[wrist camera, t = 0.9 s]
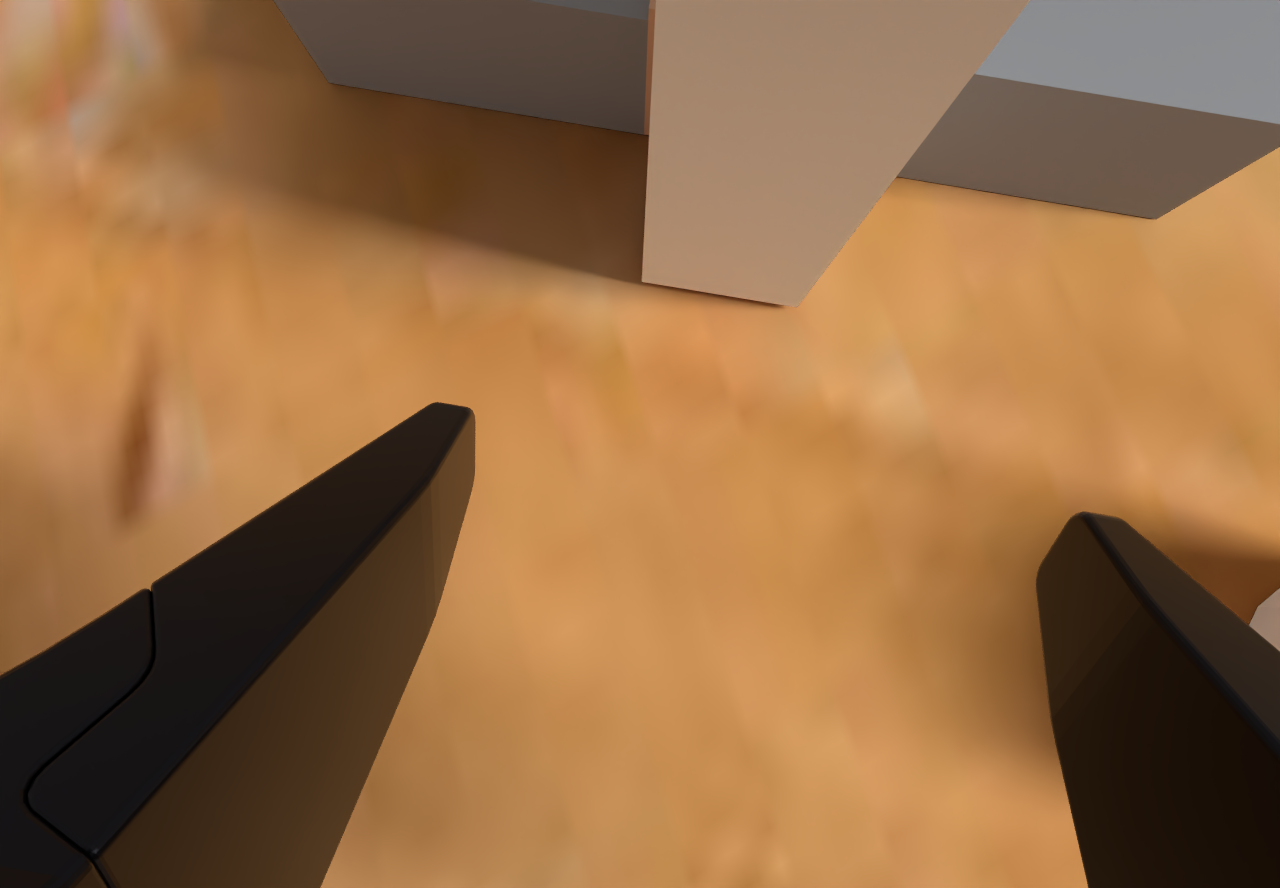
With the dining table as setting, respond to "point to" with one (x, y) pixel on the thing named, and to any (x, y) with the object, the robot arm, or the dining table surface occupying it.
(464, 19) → the grey blocks
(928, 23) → the peg block
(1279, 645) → the shot glass
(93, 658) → the robot arm
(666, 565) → the dining table surface
